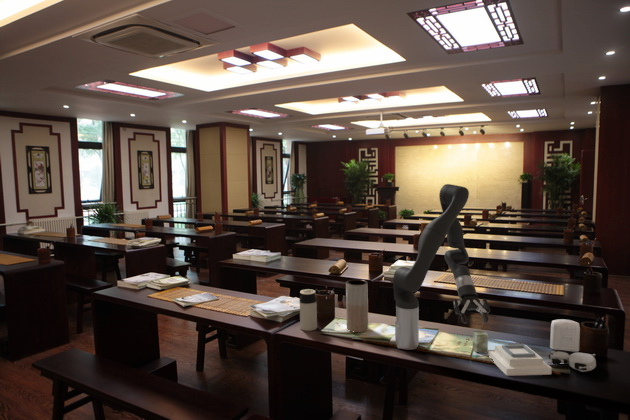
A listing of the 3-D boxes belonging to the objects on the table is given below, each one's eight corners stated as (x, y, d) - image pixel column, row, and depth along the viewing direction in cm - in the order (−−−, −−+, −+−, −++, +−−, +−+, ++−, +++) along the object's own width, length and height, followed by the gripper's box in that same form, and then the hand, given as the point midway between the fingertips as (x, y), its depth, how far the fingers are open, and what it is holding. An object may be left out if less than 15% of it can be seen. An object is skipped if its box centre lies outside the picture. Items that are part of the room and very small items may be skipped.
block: (476, 353, 166) (476, 335, 166) (472, 348, 170) (472, 331, 170) (487, 352, 167) (487, 334, 166) (483, 348, 171) (483, 330, 170)
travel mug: (320, 326, 199) (319, 290, 198) (311, 332, 192) (310, 294, 191) (306, 324, 203) (305, 288, 202) (297, 329, 197) (296, 292, 195)
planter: (353, 323, 202) (352, 278, 200) (371, 327, 196) (371, 280, 194) (342, 330, 194) (341, 282, 192) (361, 334, 188) (360, 285, 186)
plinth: (506, 375, 148) (507, 359, 147) (487, 356, 164) (487, 341, 163) (551, 374, 148) (551, 358, 147) (527, 354, 164) (528, 340, 163)
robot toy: (546, 369, 154) (594, 378, 144) (545, 357, 153) (594, 365, 144) (551, 357, 163) (597, 364, 154) (551, 346, 163) (597, 352, 154)
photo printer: (577, 348, 168) (578, 319, 167) (580, 353, 164) (581, 322, 163) (548, 346, 171) (549, 317, 170) (551, 350, 167) (552, 320, 166)
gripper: (451, 284, 180) (461, 319, 169) (484, 283, 180) (496, 318, 169) (447, 292, 185) (456, 327, 175) (479, 291, 185) (490, 326, 175)
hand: (476, 322), depth 172 cm, fingers open, 8 cm apart
